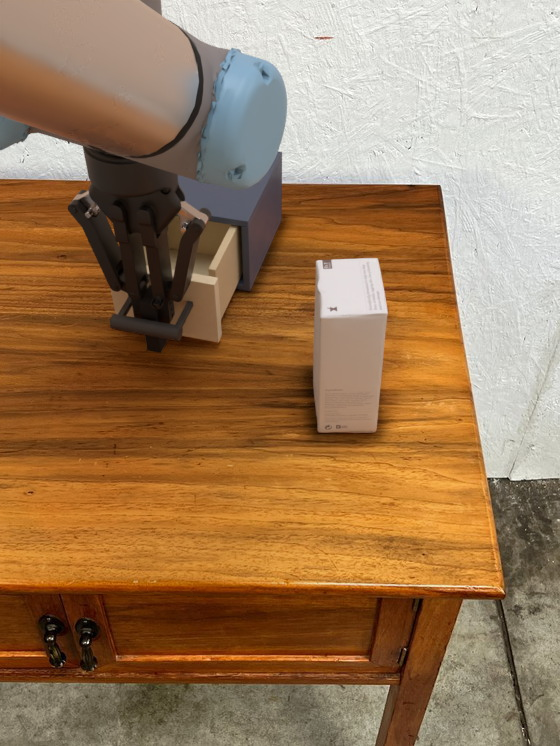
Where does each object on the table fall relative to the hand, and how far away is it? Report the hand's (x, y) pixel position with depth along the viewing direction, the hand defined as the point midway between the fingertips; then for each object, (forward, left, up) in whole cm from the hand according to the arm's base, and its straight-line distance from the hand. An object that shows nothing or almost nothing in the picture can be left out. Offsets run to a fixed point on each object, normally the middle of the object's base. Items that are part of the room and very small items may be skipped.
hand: (158, 342), depth 80 cm
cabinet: (+19, +4, -2) cm, 19 cm away
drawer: (+6, +1, -1) cm, 6 cm away
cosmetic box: (+2, -20, -2) cm, 20 cm away
